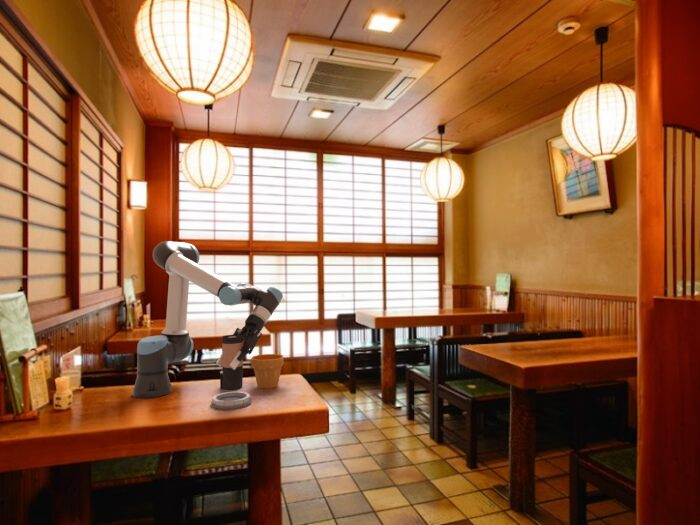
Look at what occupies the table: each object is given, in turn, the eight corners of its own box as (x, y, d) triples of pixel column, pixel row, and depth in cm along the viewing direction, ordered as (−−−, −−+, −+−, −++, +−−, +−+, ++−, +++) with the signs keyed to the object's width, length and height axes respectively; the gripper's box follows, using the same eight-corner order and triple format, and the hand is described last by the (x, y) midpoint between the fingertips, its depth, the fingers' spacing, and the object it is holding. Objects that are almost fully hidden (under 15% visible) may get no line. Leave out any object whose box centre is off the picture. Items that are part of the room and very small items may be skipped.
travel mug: (224, 392, 160) (224, 338, 161) (220, 387, 167) (220, 335, 167) (245, 389, 164) (244, 336, 164) (240, 384, 170) (239, 334, 171)
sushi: (231, 384, 194) (231, 366, 194) (243, 387, 189) (243, 369, 189) (216, 388, 188) (216, 370, 188) (228, 391, 183) (228, 372, 183)
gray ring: (202, 407, 161) (202, 399, 161) (227, 396, 175) (227, 389, 175) (235, 411, 155) (235, 403, 156) (259, 400, 169) (259, 393, 170)
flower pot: (246, 385, 192) (245, 356, 192) (274, 380, 201) (274, 352, 201) (259, 392, 181) (259, 361, 181) (289, 386, 189) (289, 357, 190)
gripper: (279, 326, 172) (248, 375, 159) (246, 323, 184) (214, 368, 171) (269, 314, 168) (236, 363, 155) (236, 312, 180) (203, 357, 167)
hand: (225, 366), depth 163 cm, fingers closed on travel mug, 7 cm apart
